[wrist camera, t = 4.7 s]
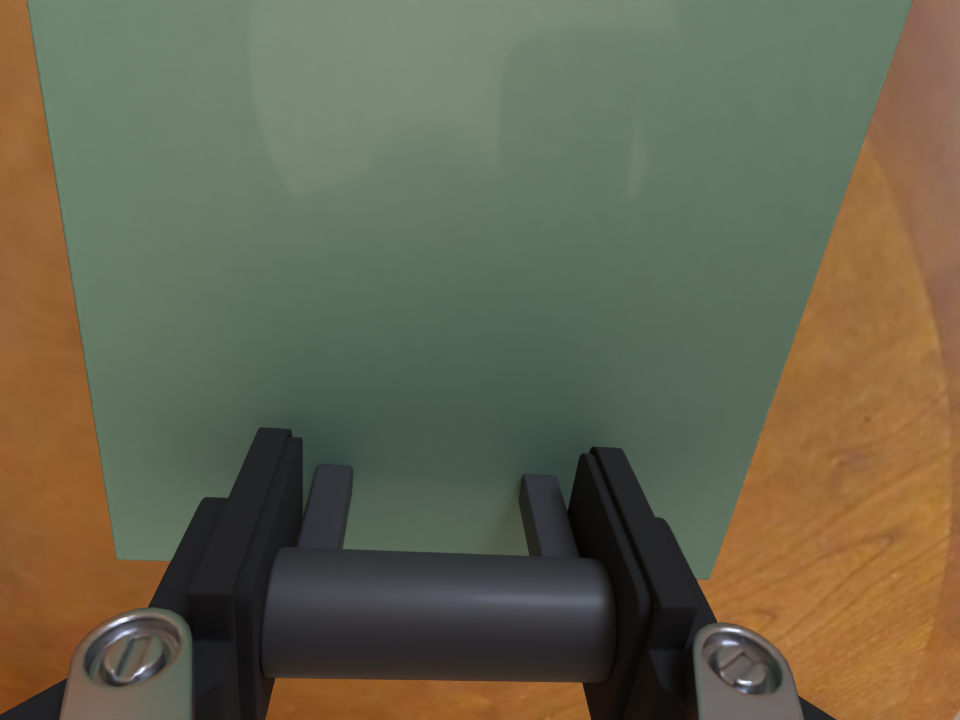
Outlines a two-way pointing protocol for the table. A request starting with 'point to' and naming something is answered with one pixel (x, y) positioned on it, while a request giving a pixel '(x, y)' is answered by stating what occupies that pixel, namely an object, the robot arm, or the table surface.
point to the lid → (445, 285)
